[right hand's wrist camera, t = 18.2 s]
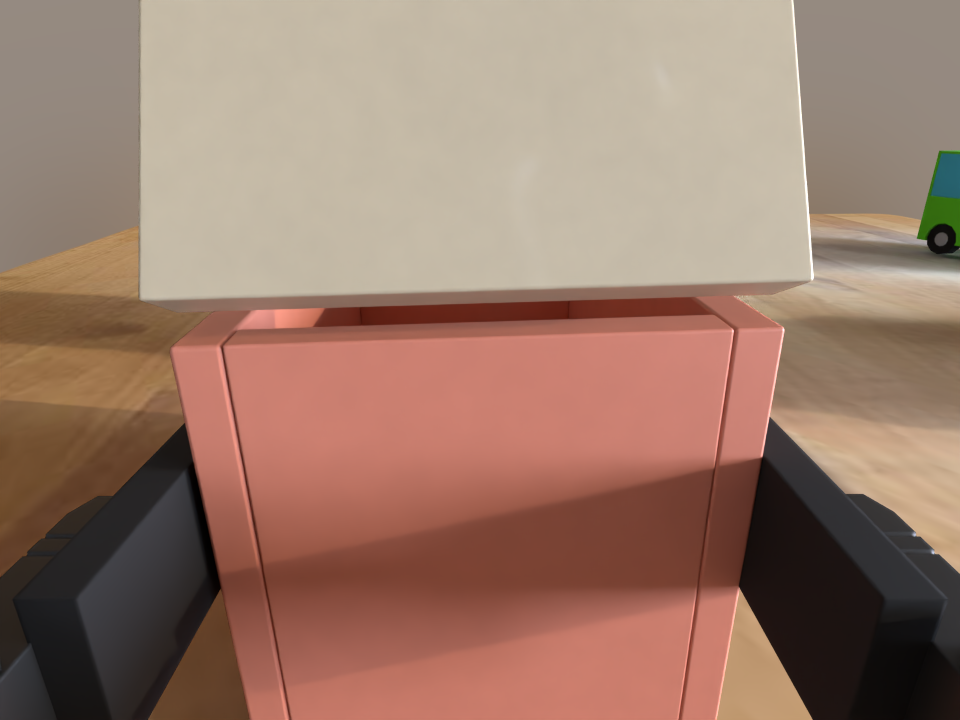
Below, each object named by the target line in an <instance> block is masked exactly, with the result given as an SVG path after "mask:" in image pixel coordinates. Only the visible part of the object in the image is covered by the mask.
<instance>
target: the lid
mask: <svg viewBox="0 0 960 720" xmlns="http://www.w3.org/2000/svg"><path fill="white" fill-rule="evenodd" d="M812 280H813V265H812V251H811V238H810V224H809V210H808V197H807V183H806V169H805V156H804V142H803V129H802V115H801V101H800V88H799V74H798V61H797V47H796V33H795V20H794V6H793V0H139V299H140V301H143V302H146V303H149V304H152V305H155V306H159V307H162V308H165V309H168V310H171V311H174V312H209V311H242V310H275V309H308V308H341V307H374V306H407V305H440V304H473V303H506V302H539V301H572V300H605V299H638V298H671V297H705V296H738V295H771V294H775V293H778V292H781V291H784V290H787V289H790V288H793V287H796V286H799V285H802V284H805V283H808V282H810V281H812Z"/></svg>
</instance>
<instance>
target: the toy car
mask: <svg viewBox="0 0 960 720" xmlns="http://www.w3.org/2000/svg"><path fill="white" fill-rule="evenodd" d="M917 239H922V240H927V245H928V247H929V248H930V250H931V251H932V252H934V253H936V254H945V253H953V252H955V251H956V250H958V249H959V248H960V151H939V154H938V158H937V162H936V166H935V170H934V174H933V177H932V181H931V185H930V189H929V193H928V197H927V201H926V205H925V209H924V213H923V217H922V220H921V224H920V228H919V232H918V236H917Z"/></svg>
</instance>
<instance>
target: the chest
mask: <svg viewBox="0 0 960 720" xmlns="http://www.w3.org/2000/svg"><path fill="white" fill-rule="evenodd" d="M783 336H784V328H783V327H782V326H780V325H779V324H777V323H776V322H774V321H772V320H771V319H769V318H768V317H766V316H765V315H763V314H761V313H760V312H758V311H757V310H755V309H753V308H752V307H750V306H749V305H747V304H745V303H744V302H742V301H741V300H739V299H737V298H736V297H734V296H705V297H671V298H638V299H605V300H572V301H539V302H506V303H473V304H440V305H407V306H374V307H341V308H308V309H275V310H242V311H213V312H212V313H211V314H210V315H209V316H207V317H206V318H205V319H204V320H203V321H201V322H200V323H199V324H198V325H197V326H195V327H194V328H193V329H192V330H191V331H189V332H188V333H187V334H186V335H185V336H183V337H182V338H181V339H180V340H179V341H177V342H176V343H175V344H174V345H173V346H171V348H170V356H171V361H172V365H173V370H174V374H175V379H176V384H177V388H178V393H179V397H180V402H181V407H182V411H183V416H184V420H185V425H186V430H187V434H188V439H189V443H190V448H191V453H192V457H193V462H194V466H195V471H196V476H197V480H198V485H199V489H200V494H201V499H202V503H203V508H204V512H205V517H206V522H207V526H208V531H209V535H210V540H211V545H212V549H213V554H214V558H215V563H216V567H217V572H218V577H219V581H220V586H221V590H222V595H223V600H224V604H225V609H226V613H227V618H228V623H229V627H230V632H231V636H232V641H233V646H234V650H235V655H236V659H237V664H238V669H239V673H240V678H241V682H242V687H243V692H244V696H245V701H246V705H247V710H248V715H249V719H250V720H716V719H717V713H718V708H719V702H720V696H721V691H722V685H723V679H724V673H725V668H726V662H727V656H728V650H729V645H730V639H731V633H732V628H733V622H734V616H735V610H736V605H737V599H738V593H739V582H740V577H741V571H742V566H743V561H744V556H745V550H746V545H747V540H748V534H749V529H750V524H751V519H752V513H753V507H754V502H755V496H756V490H757V484H758V479H759V473H760V467H761V462H762V456H763V450H764V444H765V439H766V433H767V427H768V421H769V416H770V410H771V404H772V399H773V393H774V387H775V381H776V376H777V370H778V364H779V358H780V353H781V347H782V341H783Z"/></svg>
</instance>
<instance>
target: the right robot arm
mask: <svg viewBox="0 0 960 720" xmlns="http://www.w3.org/2000/svg"><path fill="white" fill-rule="evenodd" d="M739 588H740V589H741V591H742V593H743V595H744V597H745V598H746V600H747V602H748V604H749V606H750V607H751V609H752V611H753V613H754V615H755V616H756V618H757V620H758V622H759V624H760V625H761V627H762V629H763V631H764V633H765V634H766V636H767V638H768V640H769V642H770V643H771V645H772V647H773V649H774V651H775V652H776V654H777V656H778V658H779V660H780V661H781V663H782V665H783V667H784V669H785V670H786V672H787V674H788V676H789V678H790V679H791V681H792V683H793V685H794V687H795V688H796V690H797V692H798V694H799V696H800V697H801V699H802V701H803V703H804V705H805V706H806V708H807V710H808V712H809V714H810V715H811V717H812V719H813V720H960V574H959V573H958V572H957V571H956V570H955V569H954V568H953V567H952V566H951V565H950V564H949V563H948V562H947V561H945V560H944V559H943V558H942V557H941V556H940V555H939V554H935V553H934V549H933V548H932V547H931V546H930V545H928V544H927V543H926V542H925V541H924V540H923V539H922V538H921V537H917V536H916V532H915V531H914V530H913V529H912V528H910V527H909V526H908V525H907V524H906V523H905V522H904V521H903V520H902V519H901V518H900V517H899V516H898V515H897V514H896V513H895V512H893V511H892V510H890V509H888V508H886V507H885V506H883V505H881V504H879V503H878V502H876V501H874V500H872V499H871V498H869V497H867V496H866V495H864V494H845V493H844V492H843V491H842V490H841V489H840V488H839V487H838V486H837V485H836V484H835V483H834V482H833V481H832V480H831V479H830V478H829V477H828V476H827V475H826V474H825V473H824V472H823V471H822V470H821V469H820V468H819V467H818V466H817V464H816V463H815V462H814V461H813V460H812V459H811V458H810V457H809V456H808V455H807V454H806V453H805V452H804V451H803V450H802V449H801V448H800V447H799V446H798V445H797V444H796V443H795V442H794V441H793V440H792V439H791V438H790V437H789V436H788V435H787V434H786V433H785V432H784V431H783V430H782V429H781V428H780V427H779V426H778V425H777V424H776V423H775V422H774V421H773V420H772V419H771V418H770V417H769V421H768V427H767V433H766V439H765V444H764V450H763V456H762V462H761V467H760V473H759V479H758V484H757V490H756V496H755V502H754V507H753V513H752V519H751V524H750V529H749V534H748V540H747V545H746V550H745V556H744V561H743V566H742V571H741V577H740V582H739ZM220 589H221V586H220V581H219V577H218V572H217V567H216V563H215V558H214V554H213V549H212V545H211V540H210V535H209V531H208V526H207V522H206V517H205V512H204V508H203V503H202V499H201V494H200V489H199V485H198V480H197V476H196V471H195V466H194V462H193V457H192V453H191V448H190V443H189V439H188V434H187V430H186V425H185V423H184V424H183V425H182V426H181V427H180V428H179V429H178V430H177V431H176V432H175V433H174V434H173V435H172V437H171V438H170V439H169V440H168V441H167V442H166V443H165V444H164V445H163V446H162V447H161V448H160V449H159V450H158V451H157V452H156V453H155V454H154V455H153V456H152V457H151V458H150V459H149V460H148V461H147V462H146V463H145V464H144V465H143V466H142V467H141V468H140V469H139V470H138V471H137V472H136V473H135V474H134V475H133V476H132V477H131V478H130V479H129V480H128V481H127V482H126V483H125V484H124V485H123V486H122V488H121V489H120V490H119V491H118V492H117V493H116V494H115V495H114V496H97V497H96V498H94V499H92V500H90V501H89V502H87V503H85V504H84V505H82V506H80V507H78V508H77V509H75V510H73V511H71V512H70V513H68V514H67V515H66V516H65V517H64V518H63V519H61V520H60V521H59V522H58V523H57V524H56V525H55V526H54V527H53V528H52V529H51V530H50V531H49V532H48V533H47V534H46V537H45V539H40V540H39V541H38V542H37V543H36V544H35V545H34V546H33V547H32V548H31V549H30V550H29V551H28V552H27V556H23V557H21V558H20V559H19V560H18V561H17V562H16V563H15V564H14V565H13V566H12V567H11V568H10V569H9V570H8V571H7V572H6V573H5V574H4V575H3V576H1V577H0V720H148V718H149V716H150V715H151V713H152V711H153V709H154V707H155V706H156V704H157V702H158V700H159V698H160V697H161V695H162V693H163V691H164V689H165V688H166V686H167V684H168V682H169V680H170V679H171V677H172V675H173V673H174V671H175V670H176V668H177V666H178V664H179V662H180V661H181V659H182V657H183V655H184V653H185V652H186V650H187V648H188V646H189V644H190V643H191V641H192V639H193V637H194V635H195V634H196V632H197V630H198V628H199V626H200V625H201V623H202V621H203V619H204V617H205V616H206V614H207V612H208V610H209V608H210V607H211V605H212V603H213V601H214V599H215V598H216V596H217V594H218V592H219V590H220Z"/></svg>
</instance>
